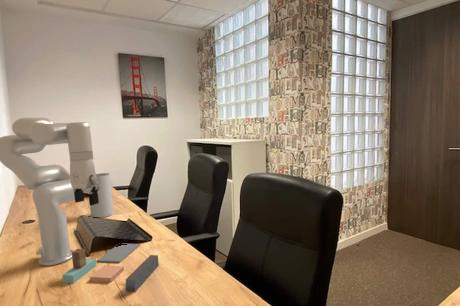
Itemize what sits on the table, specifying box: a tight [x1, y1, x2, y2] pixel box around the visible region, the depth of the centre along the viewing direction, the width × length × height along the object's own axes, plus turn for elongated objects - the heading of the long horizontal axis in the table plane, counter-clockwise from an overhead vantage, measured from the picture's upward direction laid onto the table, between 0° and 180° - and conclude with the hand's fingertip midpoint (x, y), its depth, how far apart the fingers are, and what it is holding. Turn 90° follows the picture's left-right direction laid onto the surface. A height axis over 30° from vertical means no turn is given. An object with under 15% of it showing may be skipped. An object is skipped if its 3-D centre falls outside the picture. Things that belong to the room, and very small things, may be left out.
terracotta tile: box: [89, 264, 125, 283], centre depth 101 cm, size 8×8×2 cm
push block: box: [62, 248, 97, 284], centre depth 103 cm, size 4×12×9 cm, turn 169°
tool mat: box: [96, 243, 141, 264], centre depth 119 cm, size 10×16×1 cm, turn 169°
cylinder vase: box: [88, 172, 114, 219], centre depth 173 cm, size 12×12×25 cm
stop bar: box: [125, 254, 160, 293], centre depth 98 cm, size 3×17×4 cm, turn 169°
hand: (86, 202), depth 104 cm, fingers open, 9 cm apart
